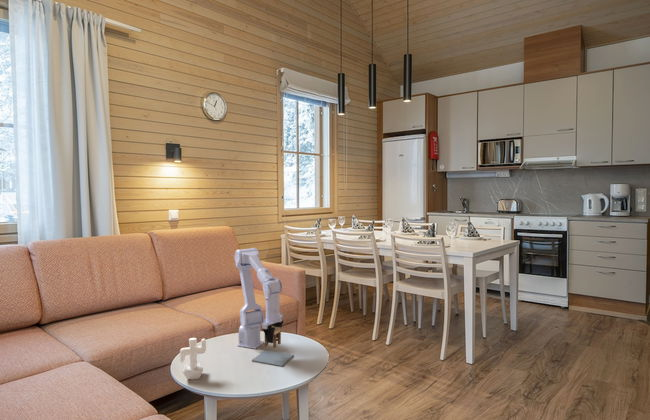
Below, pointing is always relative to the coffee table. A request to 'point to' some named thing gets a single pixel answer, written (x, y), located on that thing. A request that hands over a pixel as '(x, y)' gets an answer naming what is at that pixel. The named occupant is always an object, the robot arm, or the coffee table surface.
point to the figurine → (193, 359)
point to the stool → (277, 330)
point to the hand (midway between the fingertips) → (272, 340)
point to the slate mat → (273, 358)
